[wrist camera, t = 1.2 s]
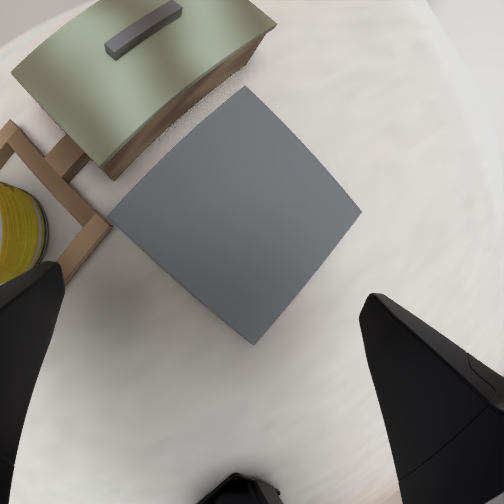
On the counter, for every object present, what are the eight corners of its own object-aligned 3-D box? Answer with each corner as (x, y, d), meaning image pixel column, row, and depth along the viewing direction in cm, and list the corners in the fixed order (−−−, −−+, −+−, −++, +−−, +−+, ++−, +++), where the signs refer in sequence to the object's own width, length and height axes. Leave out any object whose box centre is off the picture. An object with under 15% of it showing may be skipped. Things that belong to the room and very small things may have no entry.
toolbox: (25, 341, 18) (-14, 378, 11) (-58, 240, 15) (-110, 242, 9) (267, 80, 23) (305, 35, 16) (174, 2, 20) (186, -53, 13)
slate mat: (251, 343, 24) (253, 345, 23) (108, 216, 20) (107, 216, 19) (357, 212, 26) (362, 211, 25) (243, 88, 22) (245, 85, 22)
